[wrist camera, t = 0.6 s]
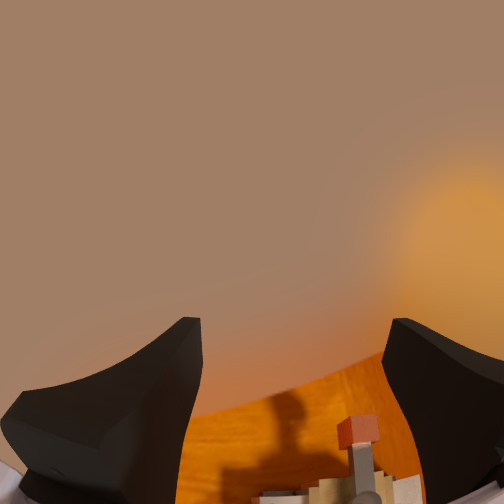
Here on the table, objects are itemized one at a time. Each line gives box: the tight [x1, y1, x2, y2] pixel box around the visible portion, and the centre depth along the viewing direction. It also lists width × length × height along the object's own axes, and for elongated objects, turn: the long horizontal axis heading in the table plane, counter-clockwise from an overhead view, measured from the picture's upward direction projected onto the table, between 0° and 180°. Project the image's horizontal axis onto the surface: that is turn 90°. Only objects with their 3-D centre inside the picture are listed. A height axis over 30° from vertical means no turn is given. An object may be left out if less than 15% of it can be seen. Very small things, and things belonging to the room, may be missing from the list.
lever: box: [337, 414, 382, 504], centre depth 16 cm, size 8×2×2 cm, turn 179°
